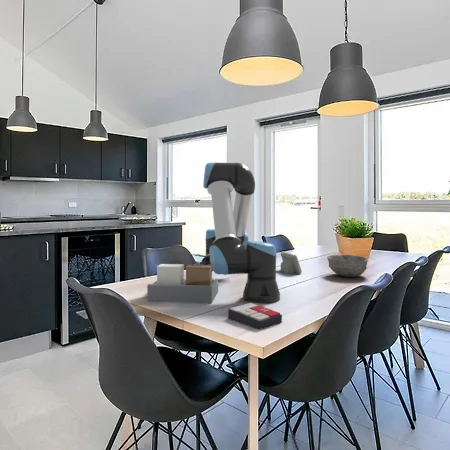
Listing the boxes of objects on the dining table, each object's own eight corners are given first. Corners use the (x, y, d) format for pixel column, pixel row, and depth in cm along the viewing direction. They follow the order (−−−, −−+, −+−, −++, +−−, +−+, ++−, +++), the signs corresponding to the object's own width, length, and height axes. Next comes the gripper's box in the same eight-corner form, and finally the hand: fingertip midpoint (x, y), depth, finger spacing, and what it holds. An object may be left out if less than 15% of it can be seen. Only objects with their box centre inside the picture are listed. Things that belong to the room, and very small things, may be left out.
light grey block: (180, 293, 158) (180, 266, 157) (157, 292, 159) (156, 266, 159) (184, 289, 164) (183, 264, 163) (161, 289, 165) (161, 263, 164)
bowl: (354, 282, 186) (354, 262, 186) (318, 275, 202) (319, 257, 201) (375, 276, 200) (375, 257, 199) (340, 270, 215) (340, 253, 215)
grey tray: (211, 303, 149) (211, 286, 149) (147, 301, 153) (147, 285, 152) (218, 292, 167) (218, 277, 167) (160, 290, 170) (160, 276, 170)
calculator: (259, 319, 119) (227, 306, 130) (259, 332, 119) (227, 319, 131) (282, 312, 126) (250, 301, 137) (282, 325, 127) (250, 312, 138)
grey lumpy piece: (302, 274, 206) (302, 255, 205) (286, 275, 204) (286, 255, 204) (293, 269, 222) (293, 250, 221) (278, 269, 220) (278, 251, 220)
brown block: (209, 294, 157) (209, 267, 156) (186, 293, 158) (185, 267, 157) (212, 290, 163) (212, 264, 162) (189, 289, 164) (188, 264, 163)
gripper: (223, 270, 189) (216, 280, 166) (197, 269, 191) (186, 279, 167) (222, 255, 188) (216, 263, 165) (197, 254, 190) (186, 262, 167)
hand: (201, 271), depth 166 cm, fingers closed
